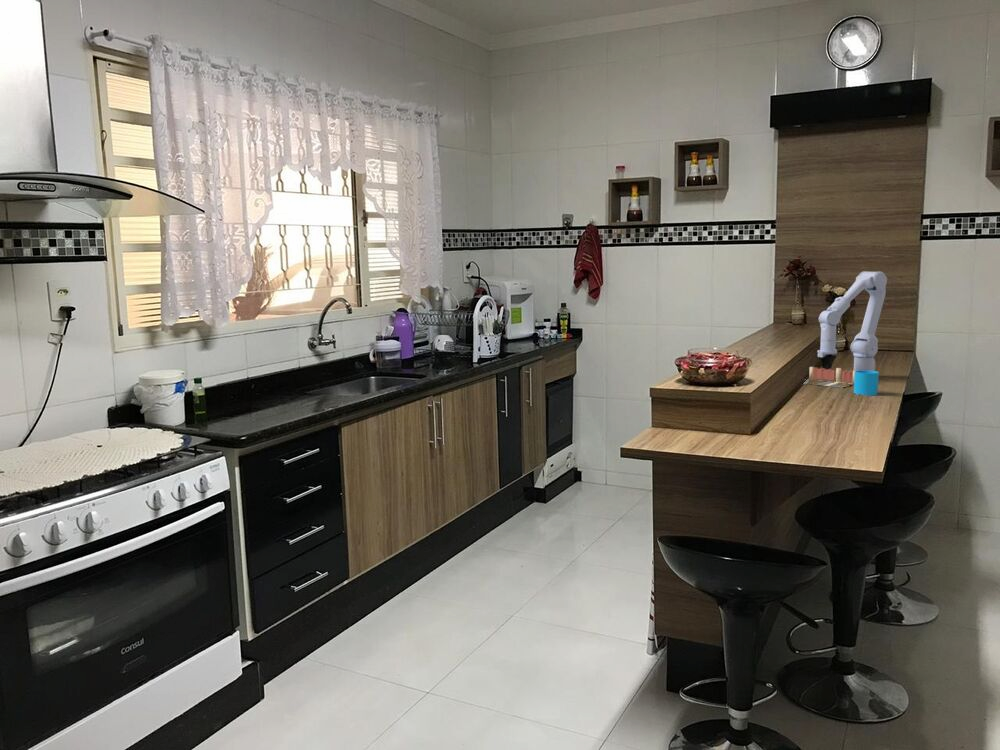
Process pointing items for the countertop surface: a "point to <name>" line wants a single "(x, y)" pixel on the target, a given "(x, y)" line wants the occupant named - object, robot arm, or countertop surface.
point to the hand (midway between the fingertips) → (826, 373)
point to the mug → (866, 382)
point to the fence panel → (821, 374)
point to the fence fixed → (845, 375)
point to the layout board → (828, 383)
